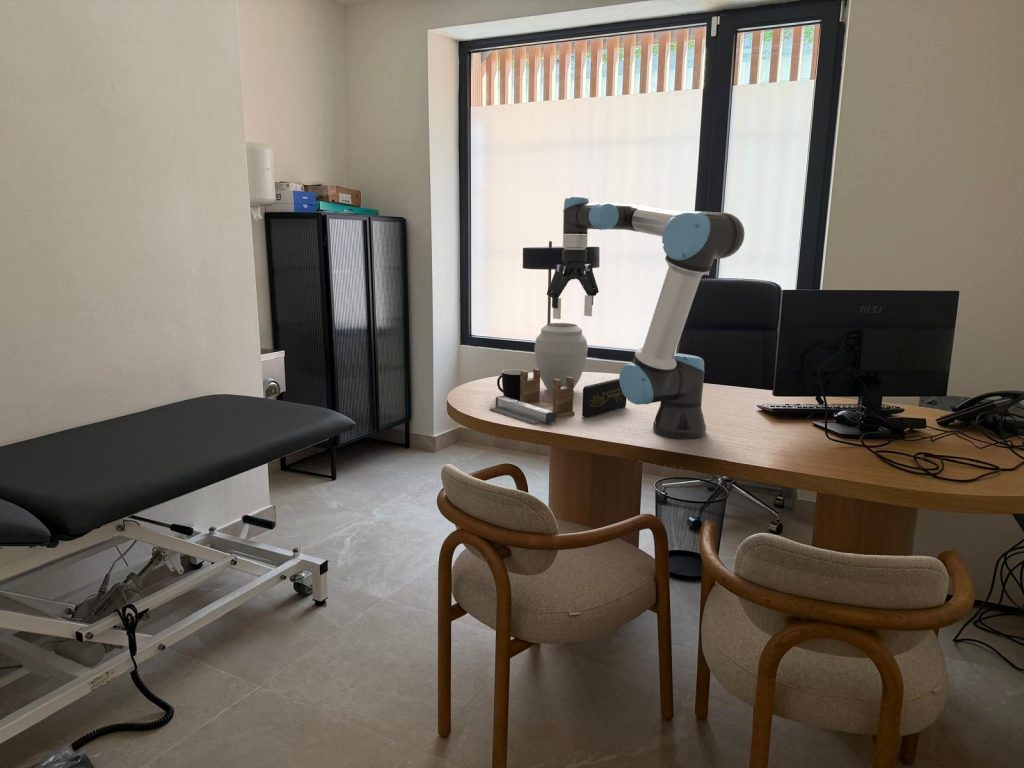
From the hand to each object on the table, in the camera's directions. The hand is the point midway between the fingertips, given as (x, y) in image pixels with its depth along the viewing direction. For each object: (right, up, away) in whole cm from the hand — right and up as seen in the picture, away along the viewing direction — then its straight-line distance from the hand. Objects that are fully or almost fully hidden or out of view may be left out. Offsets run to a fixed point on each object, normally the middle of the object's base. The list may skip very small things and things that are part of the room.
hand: (572, 317), depth 218 cm
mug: (-19, -27, +22) cm, 39 cm away
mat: (-16, -31, +2) cm, 35 cm away
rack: (-8, -30, +8) cm, 32 cm away
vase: (-2, -24, +36) cm, 43 cm away
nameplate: (+11, -30, +7) cm, 33 cm away
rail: (-15, -30, +1) cm, 34 cm away
